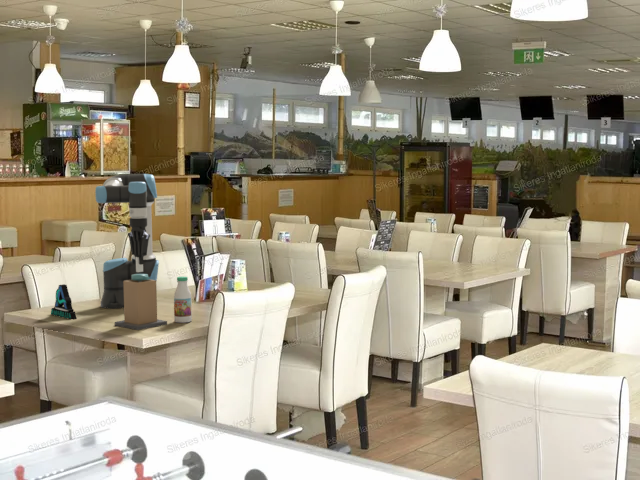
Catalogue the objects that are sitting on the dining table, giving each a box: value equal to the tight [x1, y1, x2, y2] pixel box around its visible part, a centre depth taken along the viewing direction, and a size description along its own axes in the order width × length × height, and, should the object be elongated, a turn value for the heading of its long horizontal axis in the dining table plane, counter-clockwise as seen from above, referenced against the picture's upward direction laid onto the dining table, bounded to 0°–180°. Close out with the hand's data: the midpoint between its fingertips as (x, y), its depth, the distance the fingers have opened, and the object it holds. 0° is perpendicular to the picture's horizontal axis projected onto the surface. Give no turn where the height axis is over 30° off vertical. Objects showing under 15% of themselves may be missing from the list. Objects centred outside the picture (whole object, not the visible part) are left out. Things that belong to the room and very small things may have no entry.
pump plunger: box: [132, 274, 149, 282], centre depth 388 cm, size 10×7×19 cm
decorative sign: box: [50, 284, 77, 320], centre depth 411 cm, size 19×2×15 cm, turn 45°
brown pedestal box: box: [114, 279, 168, 331], centre depth 389 cm, size 16×16×20 cm
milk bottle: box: [173, 276, 193, 324], centre depth 397 cm, size 8×8×20 cm
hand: (139, 271), depth 388 cm, fingers closed
